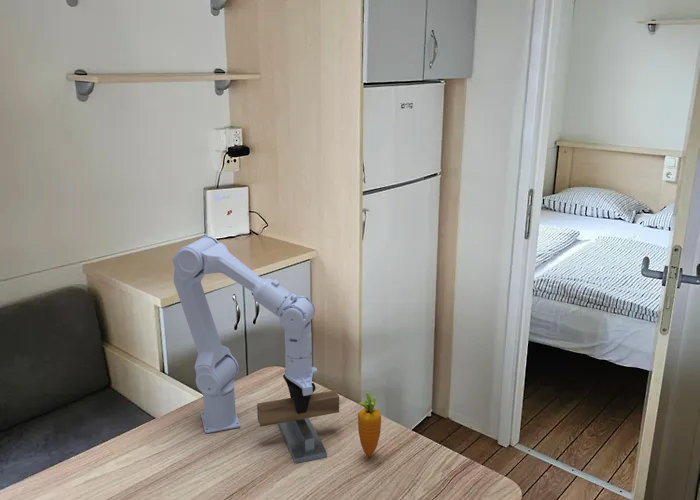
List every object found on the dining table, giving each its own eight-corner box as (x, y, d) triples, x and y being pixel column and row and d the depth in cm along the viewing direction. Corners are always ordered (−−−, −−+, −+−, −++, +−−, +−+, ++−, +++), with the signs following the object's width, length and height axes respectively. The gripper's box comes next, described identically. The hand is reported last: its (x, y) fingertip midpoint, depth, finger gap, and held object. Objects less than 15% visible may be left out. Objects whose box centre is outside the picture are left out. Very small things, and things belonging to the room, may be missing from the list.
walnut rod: (257, 419, 140) (257, 403, 139) (335, 405, 146) (335, 390, 145) (260, 426, 137) (259, 410, 136) (339, 412, 143) (339, 396, 142)
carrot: (378, 465, 134) (379, 402, 129) (355, 462, 135) (355, 400, 130) (381, 451, 138) (383, 390, 134) (359, 448, 139) (360, 388, 135)
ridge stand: (275, 418, 150) (275, 401, 149) (304, 413, 153) (303, 396, 151) (295, 463, 134) (294, 444, 133) (326, 456, 136) (326, 438, 135)
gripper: (326, 365, 132) (326, 422, 136) (307, 336, 145) (307, 389, 149) (293, 370, 130) (294, 428, 134) (276, 341, 143) (278, 394, 147)
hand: (299, 408), depth 141 cm, fingers closed on walnut rod, 3 cm apart
